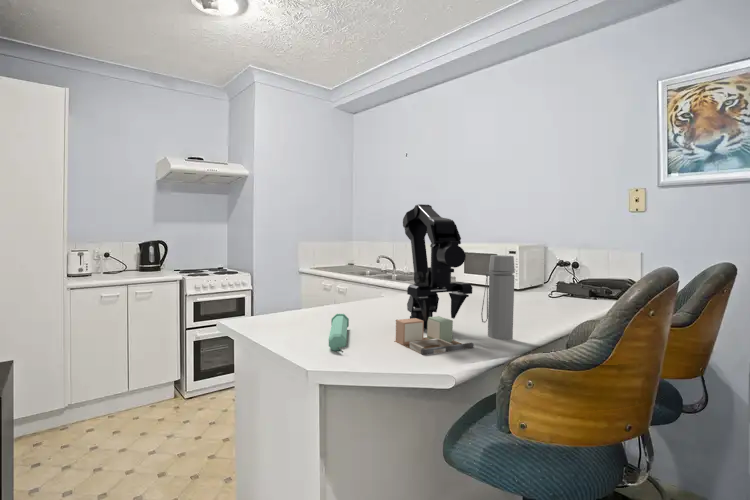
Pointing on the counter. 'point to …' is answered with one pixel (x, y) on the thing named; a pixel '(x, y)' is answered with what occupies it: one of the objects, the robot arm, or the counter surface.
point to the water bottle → (500, 297)
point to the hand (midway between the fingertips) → (439, 319)
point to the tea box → (439, 328)
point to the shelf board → (436, 346)
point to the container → (338, 332)
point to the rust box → (409, 330)
